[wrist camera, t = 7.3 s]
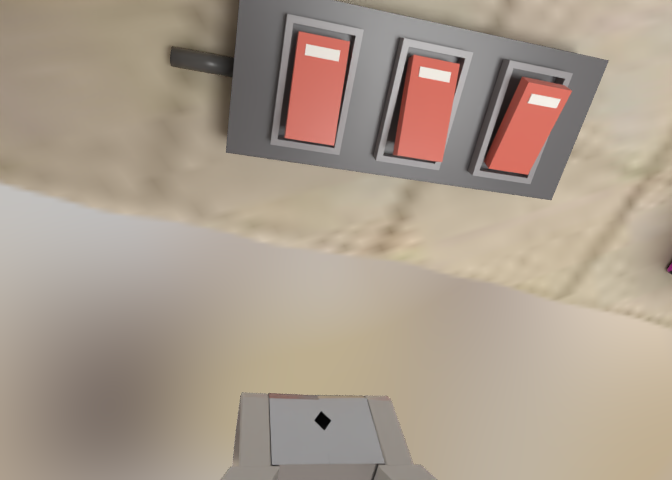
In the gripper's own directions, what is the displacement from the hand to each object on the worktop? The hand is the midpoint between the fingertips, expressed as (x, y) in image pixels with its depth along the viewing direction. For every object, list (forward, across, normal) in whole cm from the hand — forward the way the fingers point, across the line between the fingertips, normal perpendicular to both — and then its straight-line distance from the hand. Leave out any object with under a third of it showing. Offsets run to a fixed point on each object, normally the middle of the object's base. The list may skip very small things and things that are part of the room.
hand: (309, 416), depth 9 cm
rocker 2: (+22, -9, -3) cm, 24 cm away
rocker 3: (+21, -16, -3) cm, 27 cm away
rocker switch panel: (+27, -7, -3) cm, 28 cm away
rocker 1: (+22, -2, -3) cm, 22 cm away
